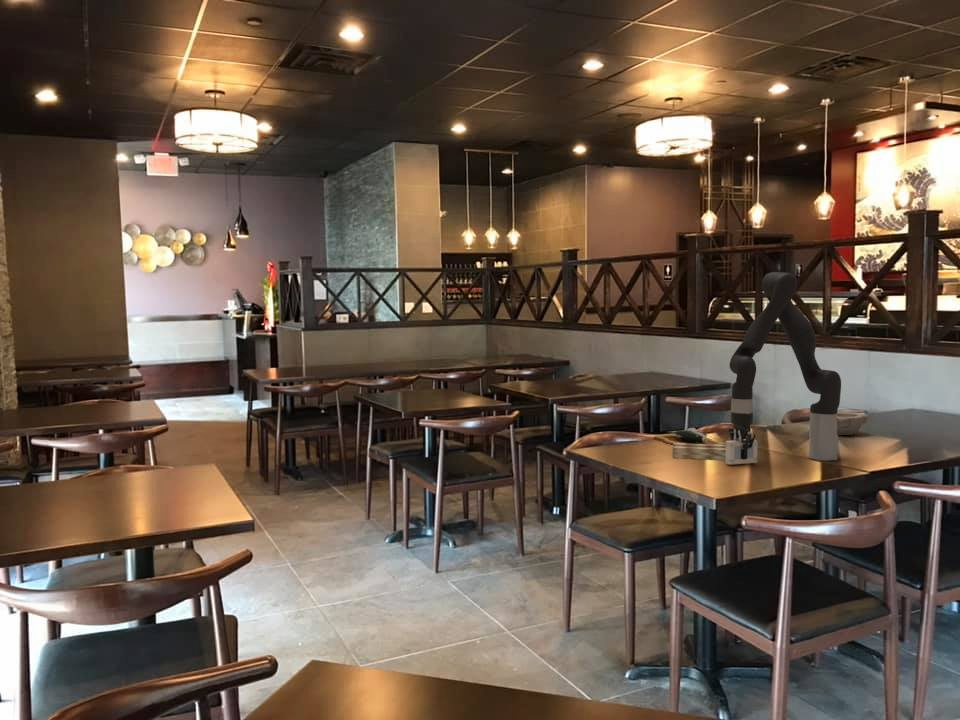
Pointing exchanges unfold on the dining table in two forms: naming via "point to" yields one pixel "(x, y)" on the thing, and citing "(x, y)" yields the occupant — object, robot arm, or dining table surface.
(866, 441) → the dining table surface
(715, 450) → the picture ledge
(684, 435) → the decorative plaque
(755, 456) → the tapered grey panel
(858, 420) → the mortar
